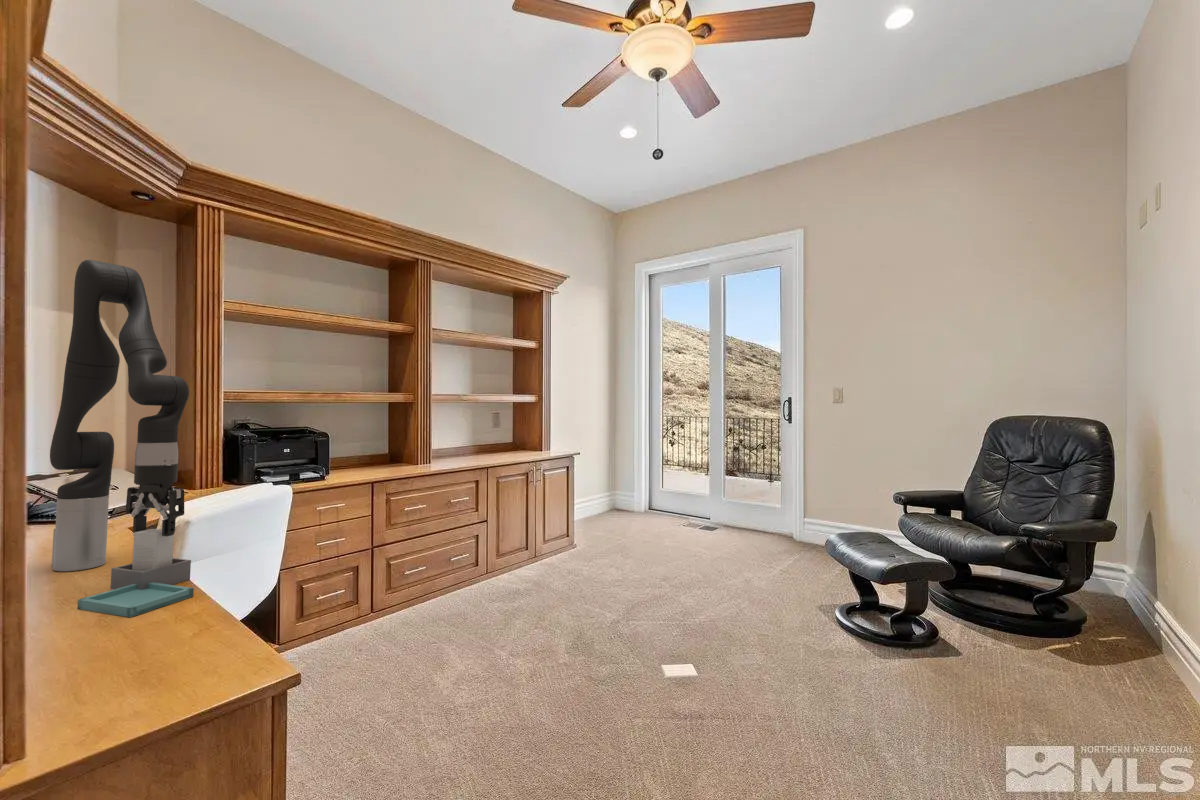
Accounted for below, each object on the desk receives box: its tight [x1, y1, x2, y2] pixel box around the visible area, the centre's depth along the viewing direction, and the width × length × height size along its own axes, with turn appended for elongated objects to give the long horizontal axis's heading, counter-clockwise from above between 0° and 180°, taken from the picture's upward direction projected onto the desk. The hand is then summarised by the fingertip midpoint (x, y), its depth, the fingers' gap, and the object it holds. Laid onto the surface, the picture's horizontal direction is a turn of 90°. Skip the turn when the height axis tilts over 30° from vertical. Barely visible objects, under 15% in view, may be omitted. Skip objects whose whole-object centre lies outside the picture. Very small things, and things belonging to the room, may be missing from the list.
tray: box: [77, 582, 195, 618], centre depth 107 cm, size 14×12×2 cm
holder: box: [110, 557, 192, 590], centre depth 118 cm, size 9×10×4 cm
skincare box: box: [131, 528, 174, 572], centre depth 118 cm, size 6×4×12 cm
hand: (153, 534), depth 118 cm, fingers open, 8 cm apart
